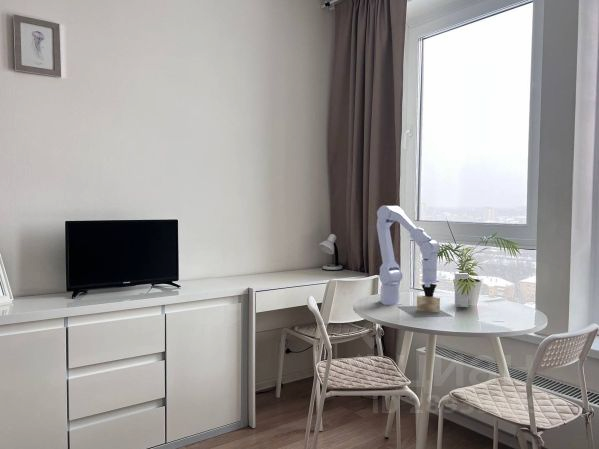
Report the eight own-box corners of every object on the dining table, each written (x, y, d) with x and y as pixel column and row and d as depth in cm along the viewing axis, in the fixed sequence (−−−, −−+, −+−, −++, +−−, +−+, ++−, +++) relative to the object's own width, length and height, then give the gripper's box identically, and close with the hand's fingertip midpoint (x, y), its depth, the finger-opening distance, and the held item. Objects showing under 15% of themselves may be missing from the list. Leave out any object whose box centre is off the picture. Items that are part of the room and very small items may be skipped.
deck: (416, 310, 193) (417, 296, 192) (417, 309, 194) (417, 295, 194) (439, 312, 189) (439, 298, 189) (439, 311, 191) (439, 297, 190)
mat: (396, 307, 200) (396, 306, 200) (431, 306, 203) (431, 305, 203) (414, 318, 181) (414, 317, 181) (453, 317, 183) (453, 316, 183)
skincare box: (468, 308, 200) (469, 274, 199) (453, 307, 202) (454, 273, 201) (469, 304, 207) (470, 271, 207) (455, 303, 210) (456, 270, 209)
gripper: (437, 272, 185) (437, 305, 185) (441, 267, 198) (440, 299, 199) (419, 271, 187) (419, 304, 188) (424, 266, 201) (423, 298, 201)
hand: (429, 301), depth 194 cm, fingers closed
